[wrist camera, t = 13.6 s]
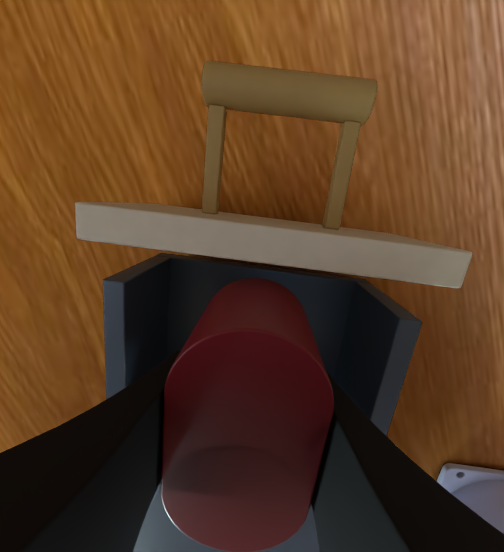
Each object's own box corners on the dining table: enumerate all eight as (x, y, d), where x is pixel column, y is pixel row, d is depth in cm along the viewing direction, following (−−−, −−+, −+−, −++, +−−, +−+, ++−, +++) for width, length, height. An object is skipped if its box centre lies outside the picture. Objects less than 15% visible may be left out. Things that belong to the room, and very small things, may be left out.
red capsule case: (315, 284, 10) (351, 343, 6) (286, 437, 11) (297, 563, 7) (207, 270, 10) (165, 317, 6) (195, 424, 12) (157, 542, 7)
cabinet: (145, 356, 17) (56, 468, 10) (352, 385, 17) (418, 521, 10) (143, 524, 21) (78, 692, 14) (309, 550, 21) (333, 733, 14)
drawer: (154, 87, 12) (61, -11, 7) (418, 117, 12) (547, 43, 7) (147, 426, 18) (92, 529, 12) (332, 452, 17) (363, 570, 12)
